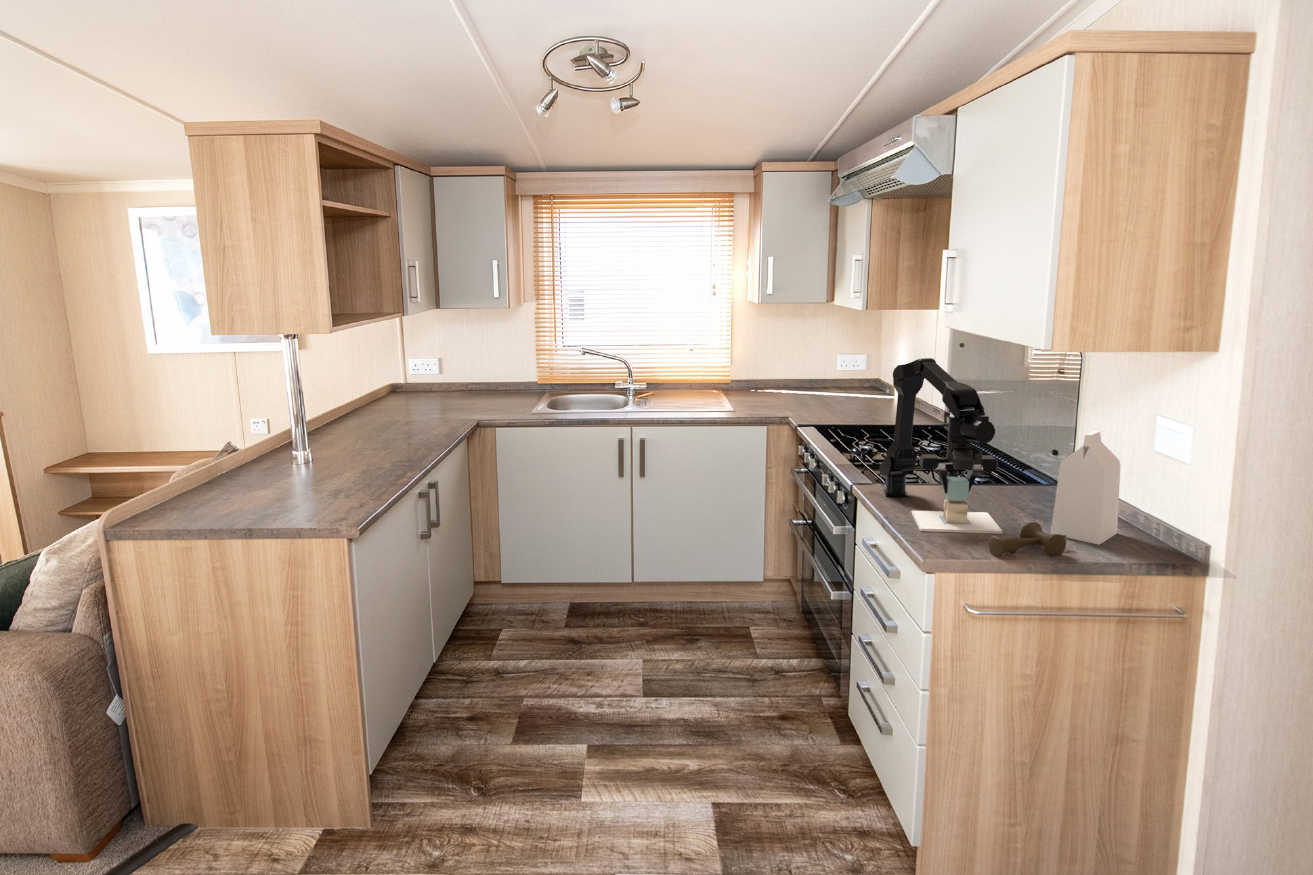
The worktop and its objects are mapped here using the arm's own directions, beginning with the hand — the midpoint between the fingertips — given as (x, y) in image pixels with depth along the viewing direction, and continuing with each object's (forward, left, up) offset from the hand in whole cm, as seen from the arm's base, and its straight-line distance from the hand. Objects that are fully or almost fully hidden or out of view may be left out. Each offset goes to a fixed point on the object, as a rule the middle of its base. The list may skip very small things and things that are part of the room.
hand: (956, 493), depth 212 cm
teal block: (0, 0, -1) cm, 1 cm away
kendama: (+21, +13, -8) cm, 26 cm away
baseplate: (0, 0, -8) cm, 8 cm away
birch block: (0, 0, -7) cm, 7 cm away
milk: (+6, +30, -8) cm, 32 cm away
